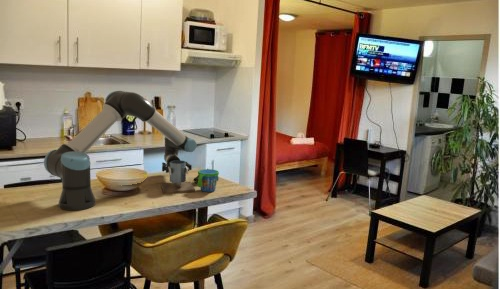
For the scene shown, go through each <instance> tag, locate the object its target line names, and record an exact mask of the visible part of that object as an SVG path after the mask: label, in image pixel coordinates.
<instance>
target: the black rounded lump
mask: <svg viewBox="0 0 500 289" xmlns="http://www.w3.org/2000/svg"><path fill="white" fill-rule="evenodd" d="M198 178H199V175H198V174H197V176H195V177H194V178H193V179H192V181H193V182H194V183H196V182H198Z"/></svg>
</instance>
